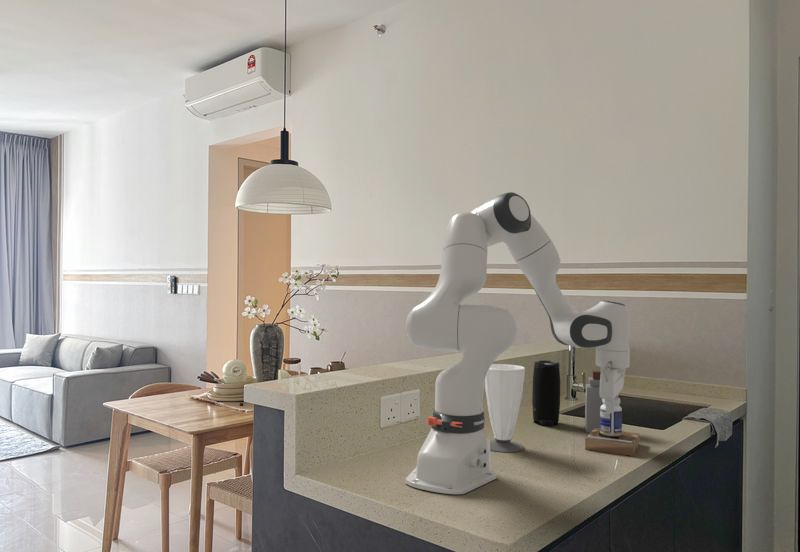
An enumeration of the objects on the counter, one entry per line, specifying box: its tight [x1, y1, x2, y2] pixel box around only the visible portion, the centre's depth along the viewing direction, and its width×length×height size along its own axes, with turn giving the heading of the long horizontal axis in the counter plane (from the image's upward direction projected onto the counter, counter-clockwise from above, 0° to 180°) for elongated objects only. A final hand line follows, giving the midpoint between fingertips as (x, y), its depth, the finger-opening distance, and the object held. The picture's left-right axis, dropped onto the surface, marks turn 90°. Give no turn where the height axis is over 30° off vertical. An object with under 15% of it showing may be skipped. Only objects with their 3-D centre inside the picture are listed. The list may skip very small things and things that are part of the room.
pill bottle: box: [600, 396, 623, 436], centre depth 165 cm, size 6×6×10 cm
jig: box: [584, 428, 640, 457], centre depth 165 cm, size 14×12×3 cm
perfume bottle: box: [584, 370, 603, 434], centre depth 183 cm, size 7×7×18 cm
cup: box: [484, 363, 526, 454], centre depth 163 cm, size 12×12×22 cm
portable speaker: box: [531, 359, 561, 427], centre depth 191 cm, size 9×9×20 cm
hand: (611, 410), depth 165 cm, fingers closed on pill bottle, 6 cm apart
